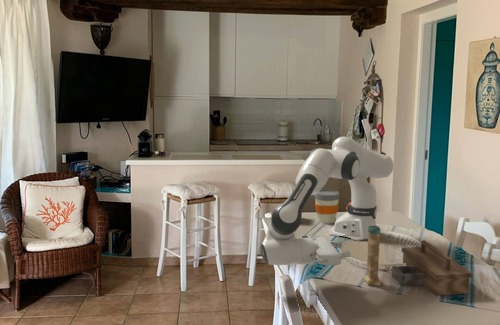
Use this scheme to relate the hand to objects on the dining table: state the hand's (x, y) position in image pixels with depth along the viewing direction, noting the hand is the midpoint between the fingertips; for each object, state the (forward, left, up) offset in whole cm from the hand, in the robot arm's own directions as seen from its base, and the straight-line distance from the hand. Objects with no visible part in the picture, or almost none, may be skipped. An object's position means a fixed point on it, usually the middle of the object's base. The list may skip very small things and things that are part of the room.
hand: (345, 249), depth 176 cm
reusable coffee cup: (-30, +72, -14) cm, 79 cm away
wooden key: (+9, +6, -13) cm, 17 cm away
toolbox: (+25, +17, -13) cm, 33 cm away
